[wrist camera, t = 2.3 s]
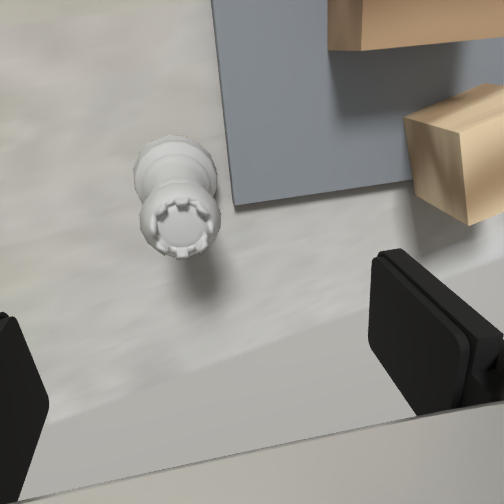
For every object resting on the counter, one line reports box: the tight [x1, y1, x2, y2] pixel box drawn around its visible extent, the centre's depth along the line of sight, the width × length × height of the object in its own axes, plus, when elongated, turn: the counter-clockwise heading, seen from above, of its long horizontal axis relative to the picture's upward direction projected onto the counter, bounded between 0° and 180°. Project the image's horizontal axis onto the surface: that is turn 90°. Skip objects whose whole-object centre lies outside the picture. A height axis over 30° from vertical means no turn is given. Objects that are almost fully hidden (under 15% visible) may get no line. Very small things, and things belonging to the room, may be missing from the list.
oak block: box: [403, 83, 504, 226], centre depth 22 cm, size 5×5×5 cm
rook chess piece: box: [134, 135, 221, 260], centre depth 19 cm, size 4×4×8 cm
